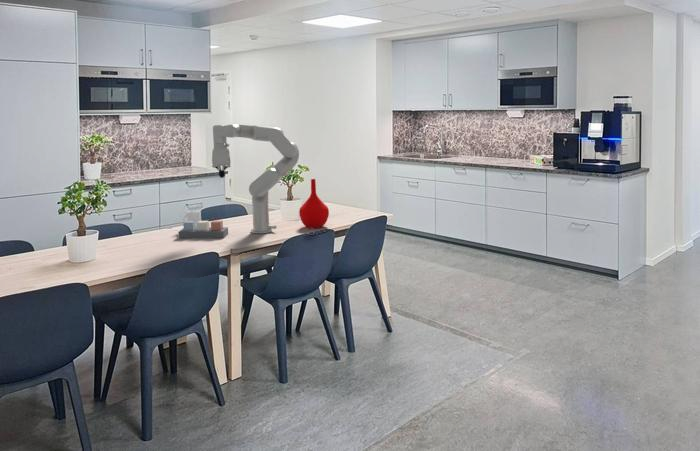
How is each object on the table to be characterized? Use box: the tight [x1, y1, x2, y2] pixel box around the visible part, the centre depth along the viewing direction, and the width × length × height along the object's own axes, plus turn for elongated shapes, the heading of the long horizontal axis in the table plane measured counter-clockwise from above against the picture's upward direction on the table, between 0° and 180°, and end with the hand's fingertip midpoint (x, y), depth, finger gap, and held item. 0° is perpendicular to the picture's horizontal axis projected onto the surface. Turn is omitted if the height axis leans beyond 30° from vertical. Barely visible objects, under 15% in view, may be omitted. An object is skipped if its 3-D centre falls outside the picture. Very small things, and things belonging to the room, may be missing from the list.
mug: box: [183, 209, 202, 228], centre depth 370 cm, size 12×8×12 cm
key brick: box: [210, 220, 224, 230], centre depth 354 cm, size 6×6×6 cm
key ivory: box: [197, 220, 210, 231], centre depth 355 cm, size 6×6×6 cm
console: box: [177, 226, 229, 240], centre depth 355 cm, size 26×12×4 cm, turn 89°
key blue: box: [182, 220, 196, 231], centre depth 355 cm, size 6×6×6 cm
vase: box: [298, 178, 330, 229], centre depth 376 cm, size 18×18×30 cm
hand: (222, 177), depth 360 cm, fingers closed
